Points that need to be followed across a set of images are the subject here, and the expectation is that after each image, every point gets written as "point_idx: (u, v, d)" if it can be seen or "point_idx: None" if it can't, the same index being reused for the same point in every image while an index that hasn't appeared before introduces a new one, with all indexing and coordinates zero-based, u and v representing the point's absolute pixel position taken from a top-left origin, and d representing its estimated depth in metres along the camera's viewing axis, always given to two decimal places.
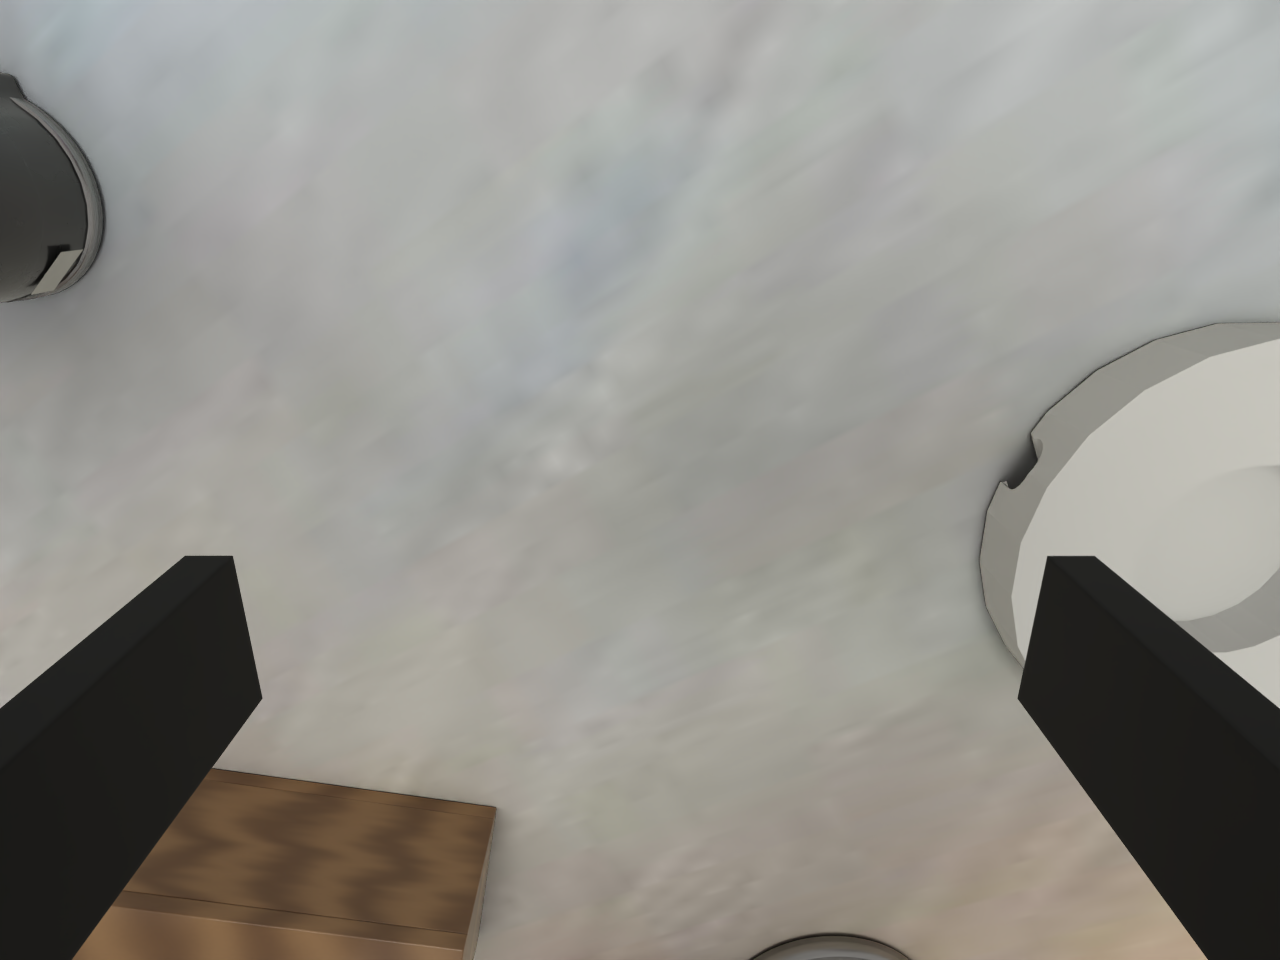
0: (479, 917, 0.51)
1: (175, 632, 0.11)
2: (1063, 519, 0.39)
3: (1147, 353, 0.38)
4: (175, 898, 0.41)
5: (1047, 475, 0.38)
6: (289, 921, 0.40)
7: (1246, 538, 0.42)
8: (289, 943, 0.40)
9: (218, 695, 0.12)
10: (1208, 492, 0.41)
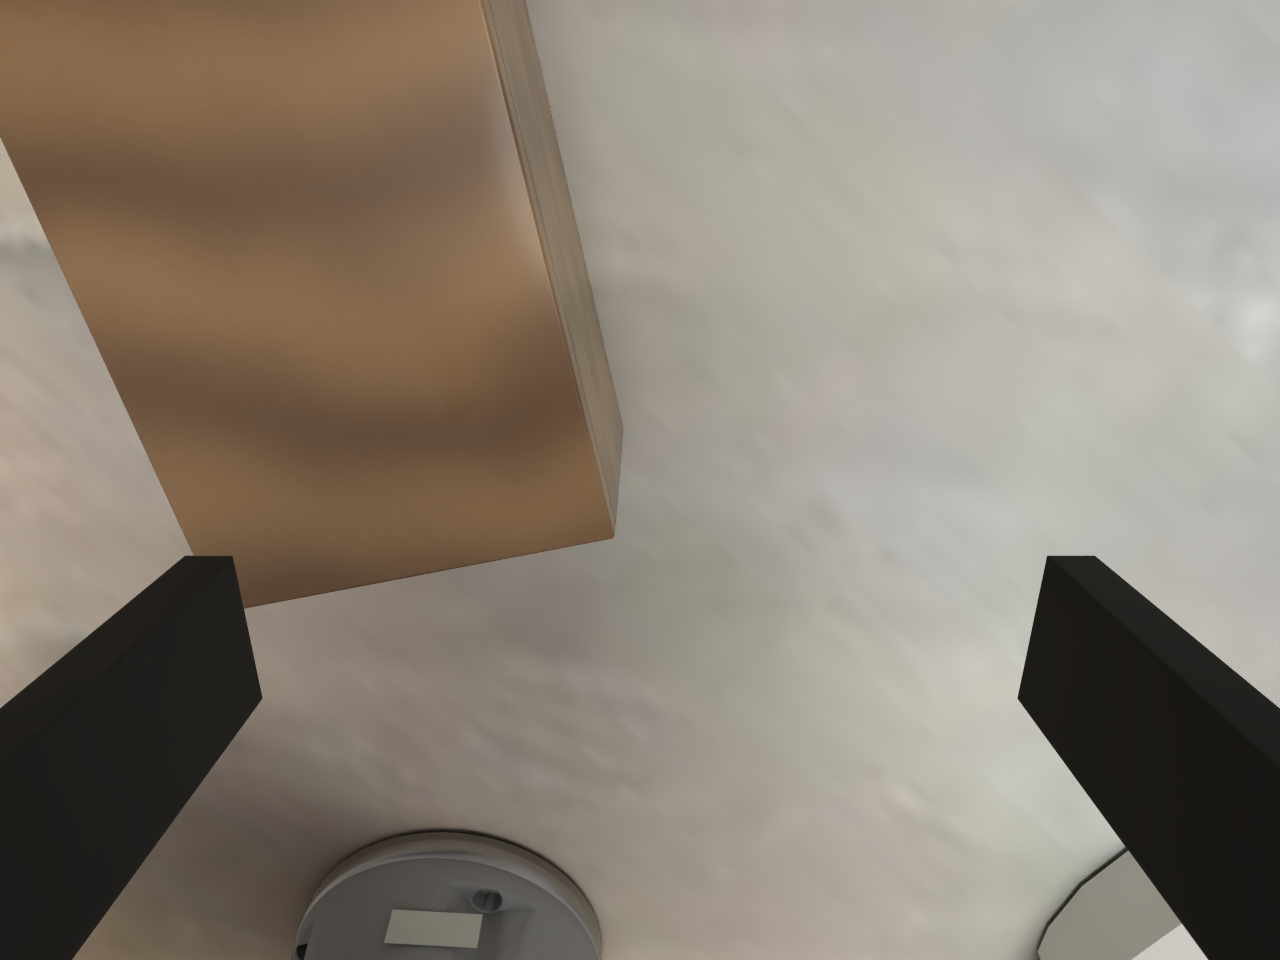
0: None
1: (177, 632, 0.11)
2: None
3: None
4: None
5: None
6: (531, 188, 0.18)
7: None
8: (486, 206, 0.18)
9: (218, 695, 0.12)
10: None
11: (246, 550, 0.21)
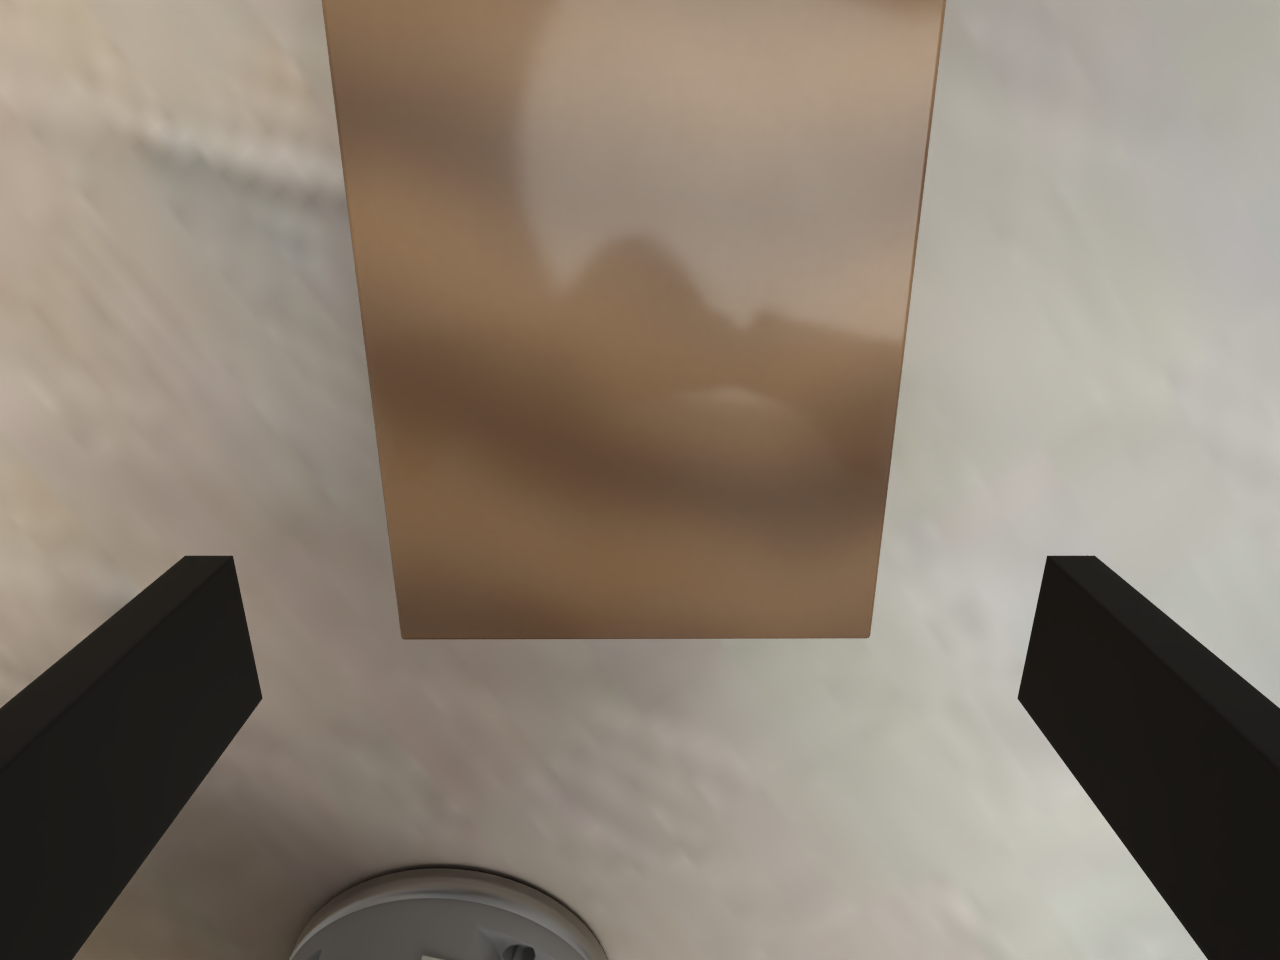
0: None
1: (177, 632, 0.11)
2: None
3: None
4: None
5: None
6: None
7: None
8: (864, 260, 0.16)
9: (218, 695, 0.12)
10: None
11: (457, 577, 0.18)
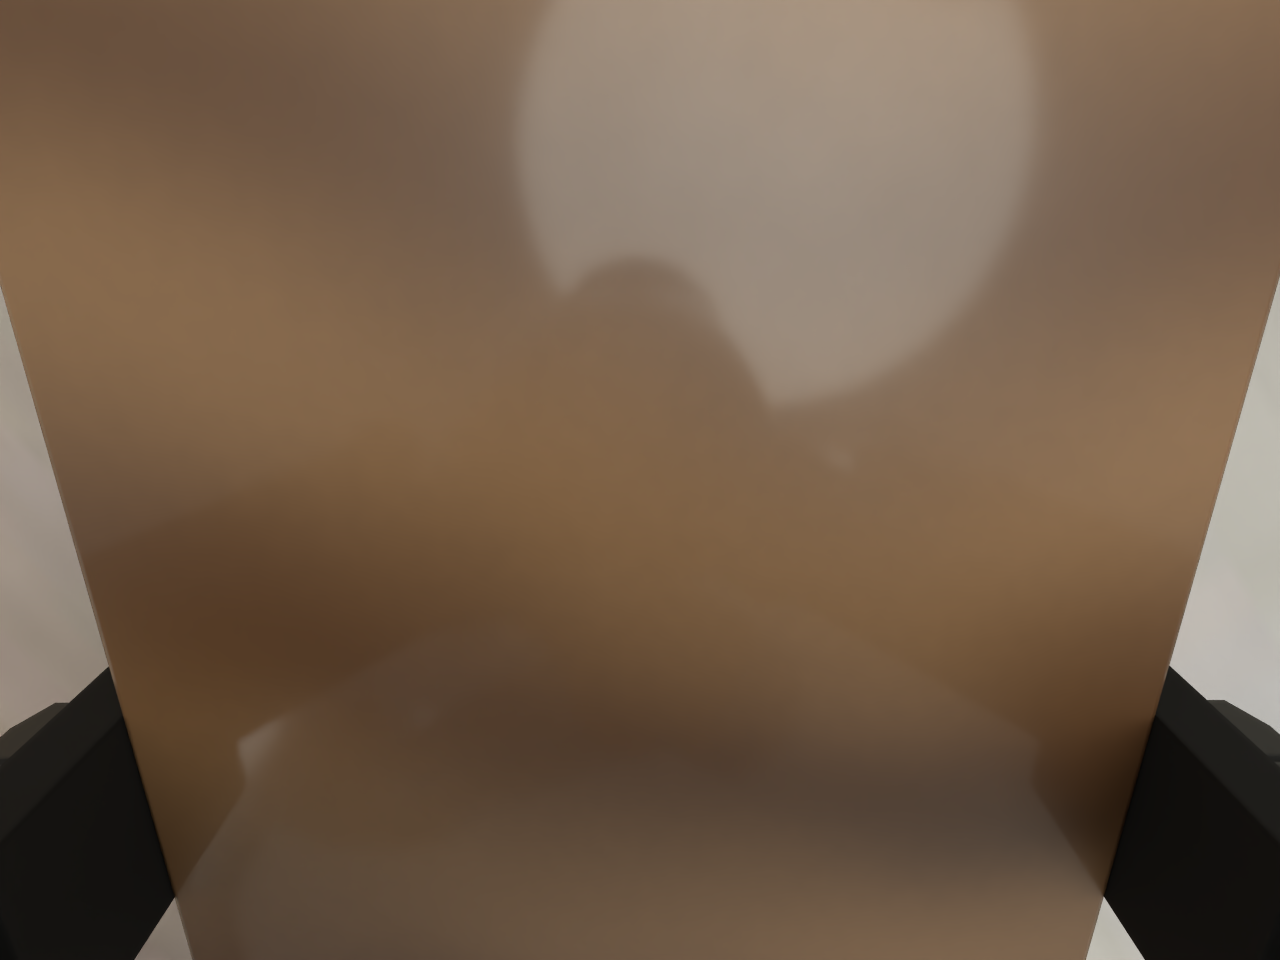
0: None
1: None
2: None
3: None
4: None
5: None
6: None
7: None
8: (1148, 344, 0.07)
9: None
10: None
11: (300, 923, 0.10)
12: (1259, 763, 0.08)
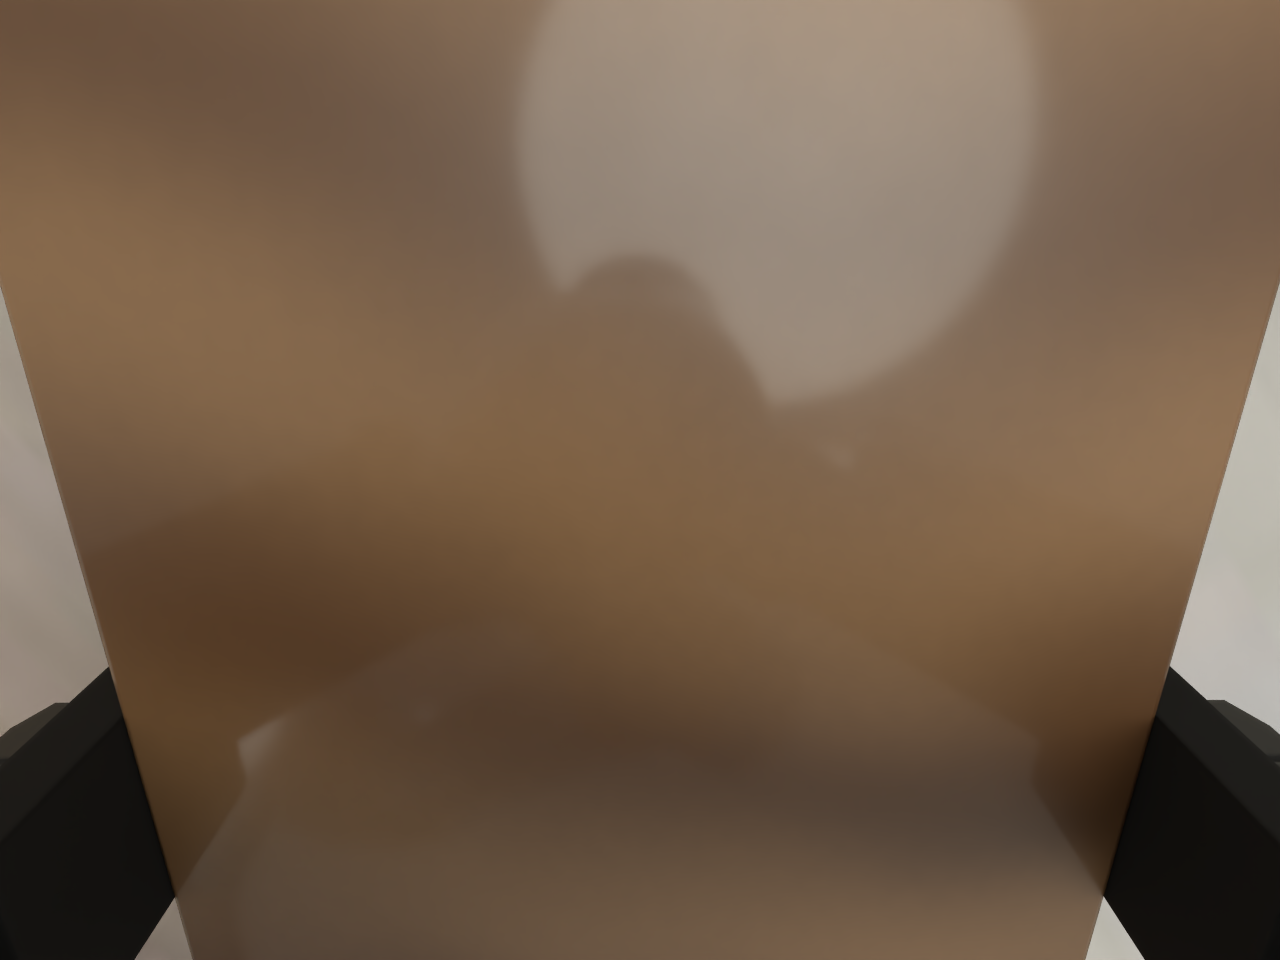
0: None
1: None
2: None
3: None
4: None
5: None
6: None
7: None
8: (1149, 346, 0.07)
9: None
10: None
11: (300, 923, 0.10)
12: (1258, 763, 0.08)
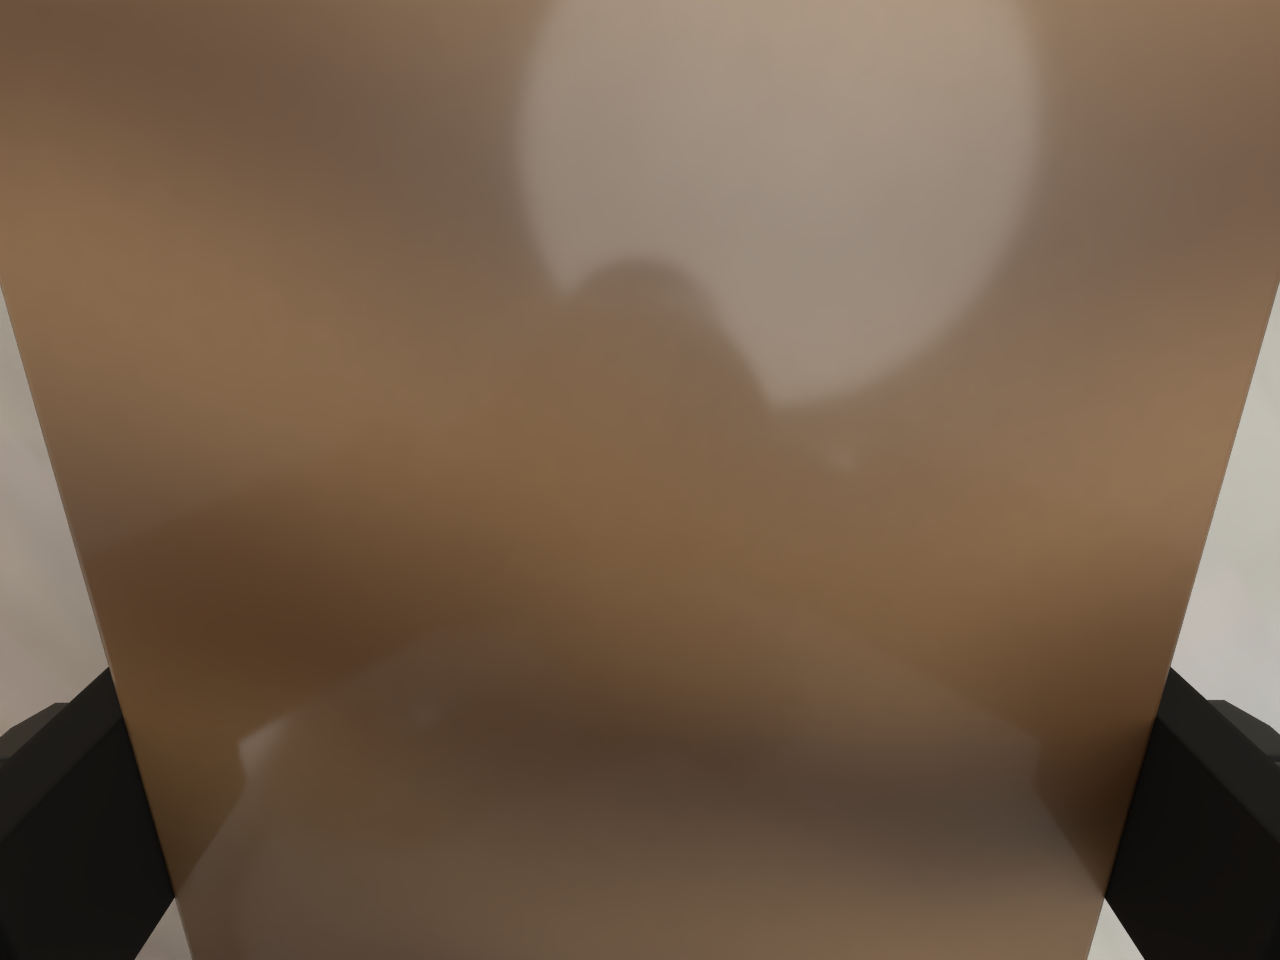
0: None
1: None
2: None
3: None
4: None
5: None
6: None
7: None
8: (1150, 344, 0.07)
9: None
10: None
11: (300, 923, 0.10)
12: (1258, 762, 0.08)
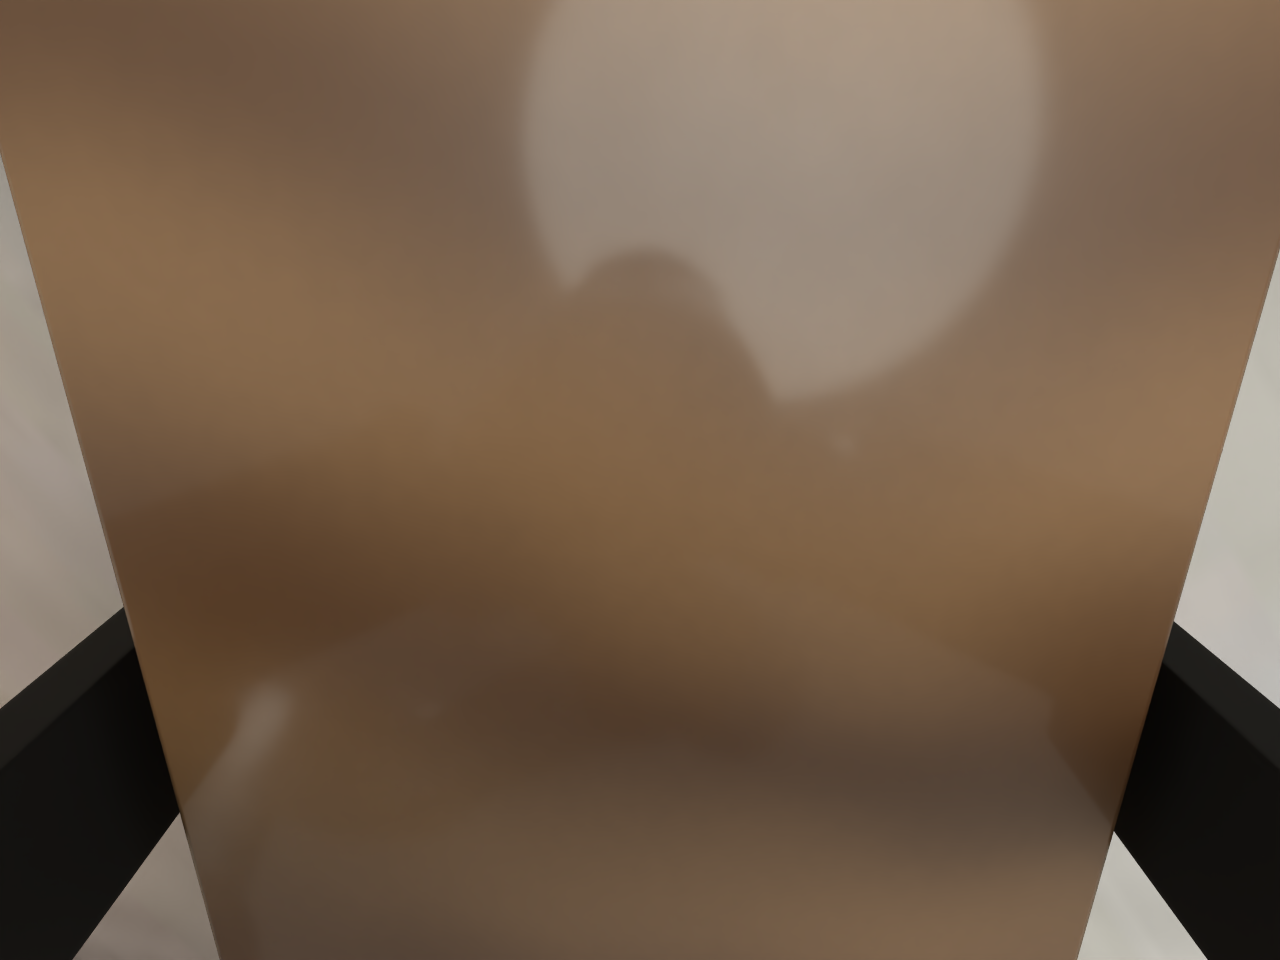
0: None
1: None
2: None
3: None
4: None
5: None
6: None
7: None
8: (1148, 327, 0.07)
9: None
10: None
11: (317, 894, 0.10)
12: None
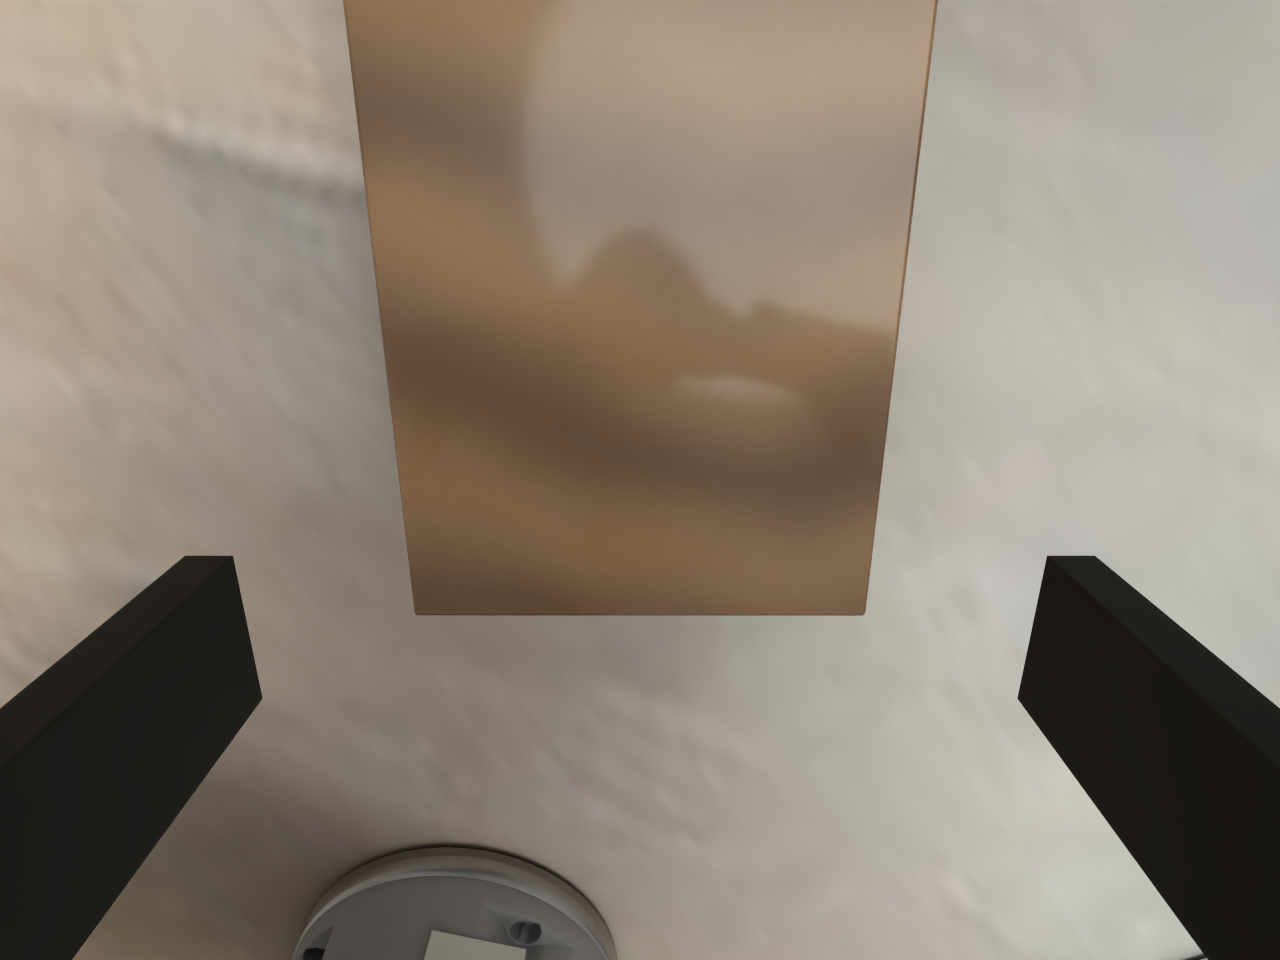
0: None
1: (176, 632, 0.11)
2: None
3: None
4: None
5: None
6: None
7: None
8: (859, 250, 0.17)
9: (218, 695, 0.12)
10: None
11: (468, 555, 0.19)
12: None
